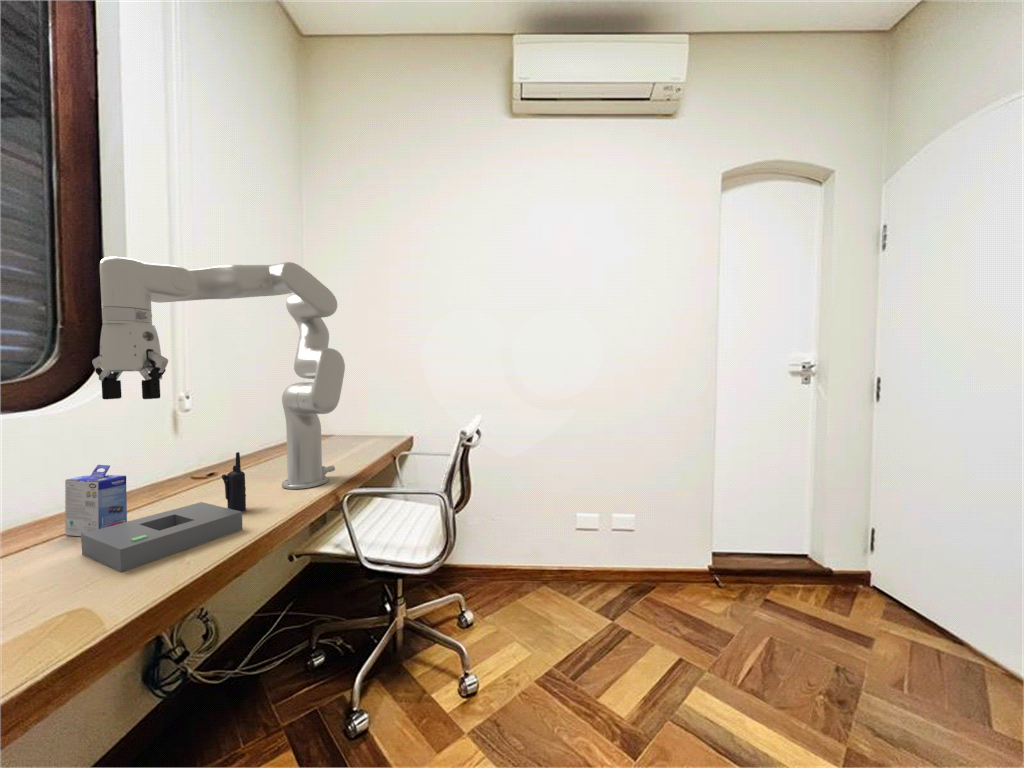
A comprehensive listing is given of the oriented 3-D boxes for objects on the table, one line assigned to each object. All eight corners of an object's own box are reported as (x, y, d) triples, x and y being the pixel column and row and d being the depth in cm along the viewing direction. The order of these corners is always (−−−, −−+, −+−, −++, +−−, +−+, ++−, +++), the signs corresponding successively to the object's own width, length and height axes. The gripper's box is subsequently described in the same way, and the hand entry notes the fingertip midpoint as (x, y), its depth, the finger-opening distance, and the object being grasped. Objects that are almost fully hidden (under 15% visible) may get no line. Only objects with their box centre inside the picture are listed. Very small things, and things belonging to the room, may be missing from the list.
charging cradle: (202, 518, 92) (201, 500, 92) (242, 529, 85) (242, 510, 85) (81, 554, 74) (81, 532, 74) (121, 572, 67) (120, 547, 67)
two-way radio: (248, 511, 97) (246, 452, 96) (226, 516, 93) (224, 455, 93) (241, 506, 100) (239, 449, 100) (220, 511, 97) (218, 452, 97)
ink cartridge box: (130, 529, 87) (127, 464, 86) (99, 539, 81) (96, 470, 81) (96, 525, 89) (93, 463, 88) (64, 536, 83) (61, 469, 83)
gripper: (181, 319, 85) (184, 397, 85) (113, 321, 87) (116, 397, 88) (144, 314, 77) (148, 400, 78) (71, 317, 80) (75, 400, 80)
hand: (131, 398), depth 83 cm, fingers open, 9 cm apart
